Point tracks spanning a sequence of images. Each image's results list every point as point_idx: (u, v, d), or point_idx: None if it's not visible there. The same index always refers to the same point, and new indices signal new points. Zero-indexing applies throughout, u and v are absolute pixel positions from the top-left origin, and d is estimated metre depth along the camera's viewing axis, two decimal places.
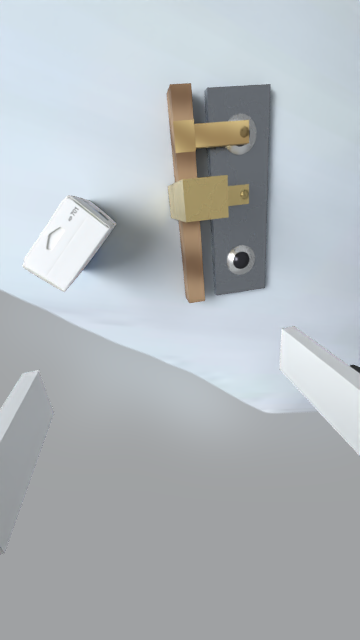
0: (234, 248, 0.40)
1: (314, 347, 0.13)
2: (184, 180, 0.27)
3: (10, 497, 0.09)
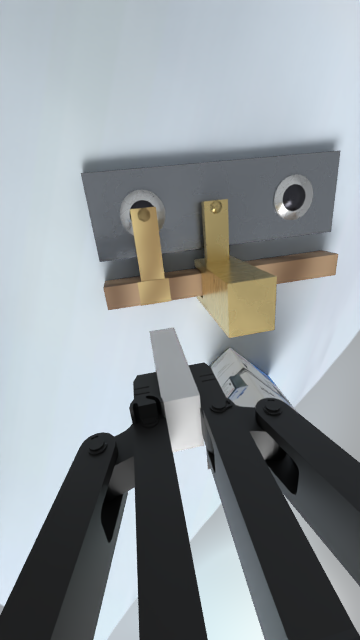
0: (276, 210, 0.29)
1: (173, 347, 0.14)
2: (230, 335, 0.22)
3: None
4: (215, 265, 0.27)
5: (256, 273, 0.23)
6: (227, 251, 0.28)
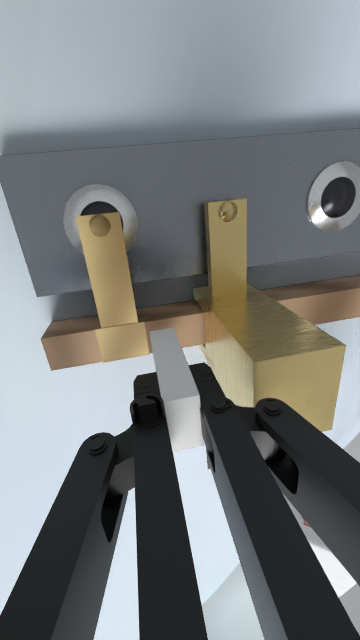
0: (311, 217, 0.19)
1: (173, 347, 0.14)
2: None
3: None
4: (226, 304, 0.17)
5: (302, 332, 0.13)
6: (244, 279, 0.18)
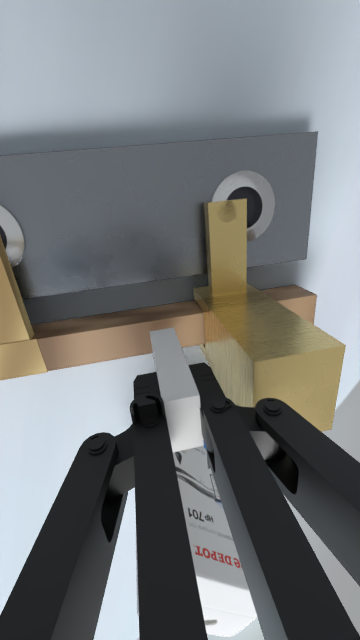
0: None
1: (173, 347, 0.14)
2: None
3: None
4: (226, 304, 0.17)
5: (301, 331, 0.13)
6: (244, 279, 0.18)
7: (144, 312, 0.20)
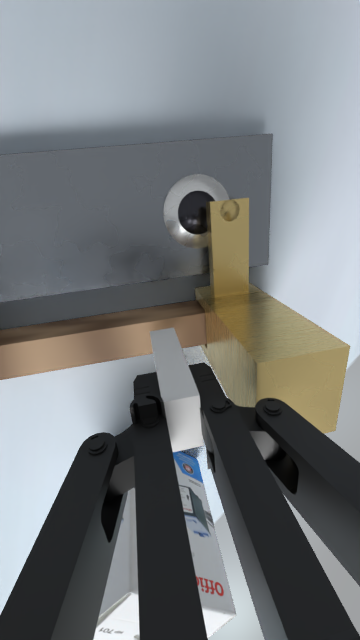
0: (170, 234, 0.18)
1: (173, 347, 0.14)
2: None
3: None
4: (228, 304, 0.17)
5: (305, 332, 0.12)
6: (246, 279, 0.18)
7: (100, 319, 0.19)
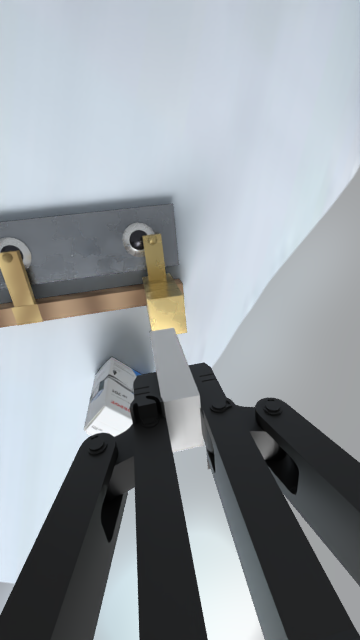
0: (126, 250, 0.36)
1: (173, 347, 0.14)
2: None
3: None
4: (152, 283, 0.35)
5: (172, 291, 0.31)
6: (164, 272, 0.37)
7: (93, 292, 0.38)
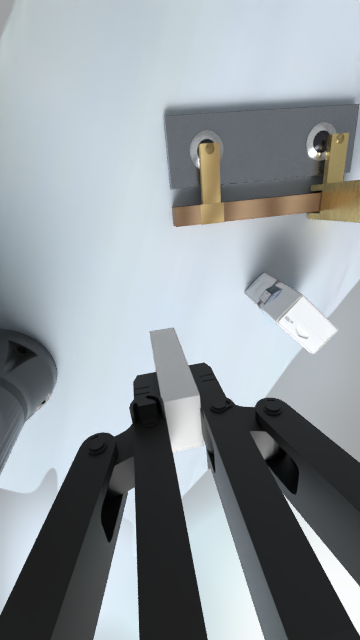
0: (308, 152, 0.37)
1: (173, 347, 0.14)
2: None
3: None
4: None
5: None
6: (342, 175, 0.38)
7: None
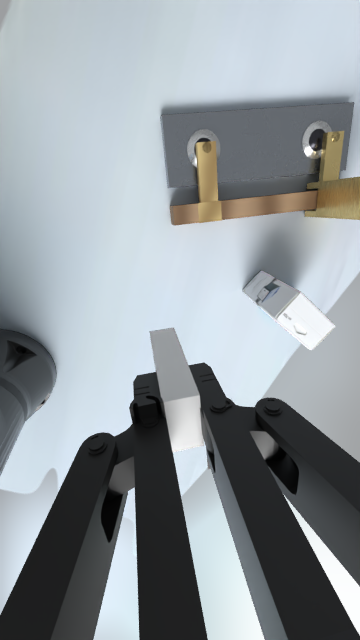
0: (304, 150, 0.38)
1: (173, 347, 0.14)
2: (359, 217, 0.32)
3: None
4: None
5: None
6: (338, 173, 0.38)
7: None
